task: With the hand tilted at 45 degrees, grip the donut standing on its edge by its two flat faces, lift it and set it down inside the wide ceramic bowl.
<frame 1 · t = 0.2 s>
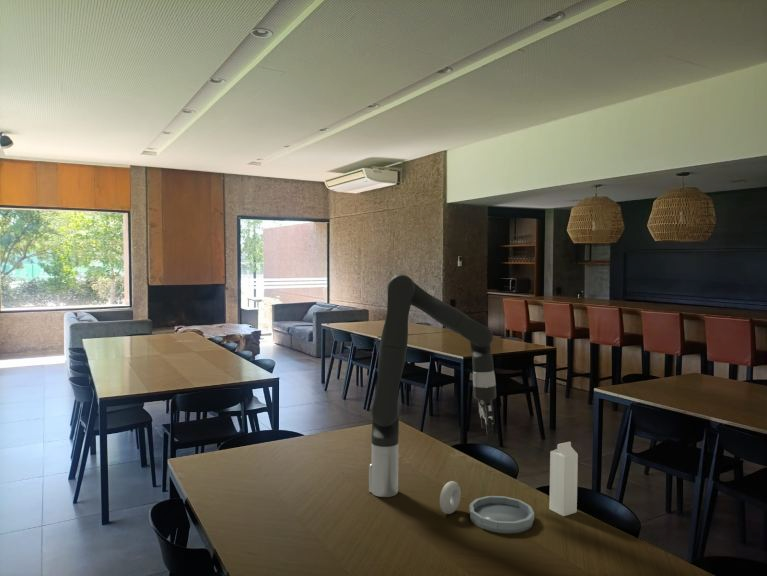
hand: (487, 432, 189), 22 cm above the table, tool pointing down, fingers open, 8 cm apart
milk: (562, 511, 178), on the table
bowl: (501, 518, 172), on the table
donut: (450, 513, 176), on the table
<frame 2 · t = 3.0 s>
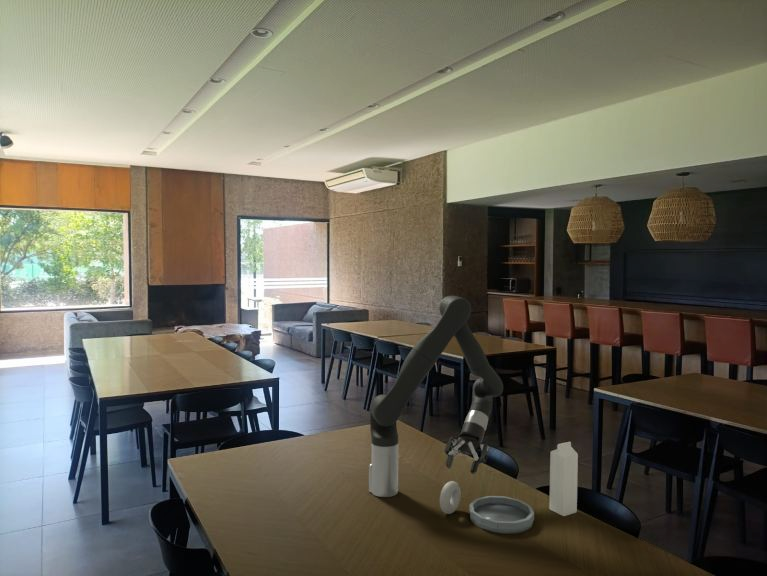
hand: (460, 470, 181), 12 cm above the table, tool tilted 45°, fingers open, 8 cm apart
nothing on the table moved.
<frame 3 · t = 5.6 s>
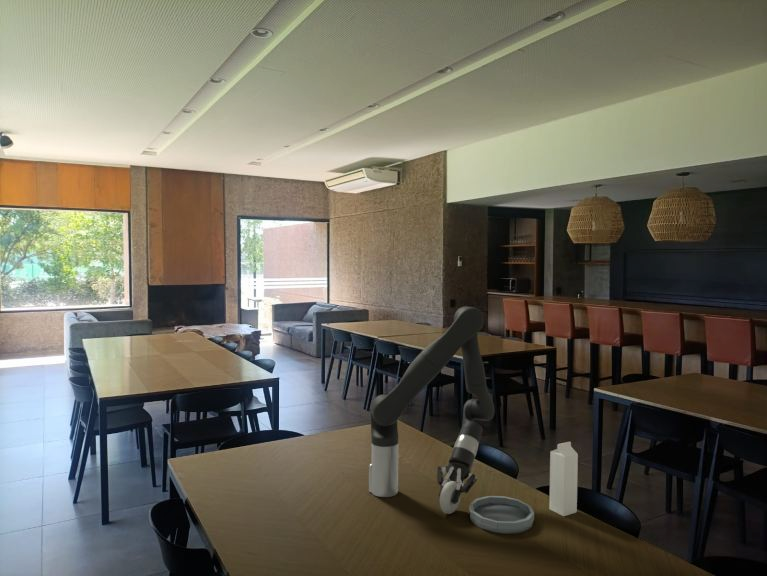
hand: (447, 500, 174), 5 cm above the table, tool tilted 45°, fingers closed on donut, 3 cm apart
donut: (450, 513, 176), on the table, touching gripper
everything else where it was.
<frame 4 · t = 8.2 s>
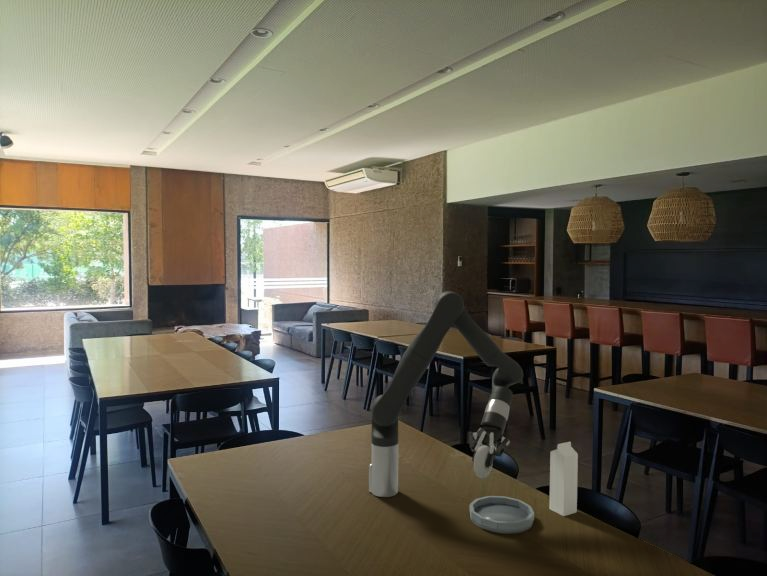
hand: (481, 465, 172), 17 cm above the table, tool tilted 45°, fingers closed on donut, 3 cm apart
donut: (483, 478, 173), point 12 cm above the table, touching gripper
everything else where it was.
when the fingers open (7 cm above the table, at t = 10.7 s): donut drops 1 cm, resting on bowl.
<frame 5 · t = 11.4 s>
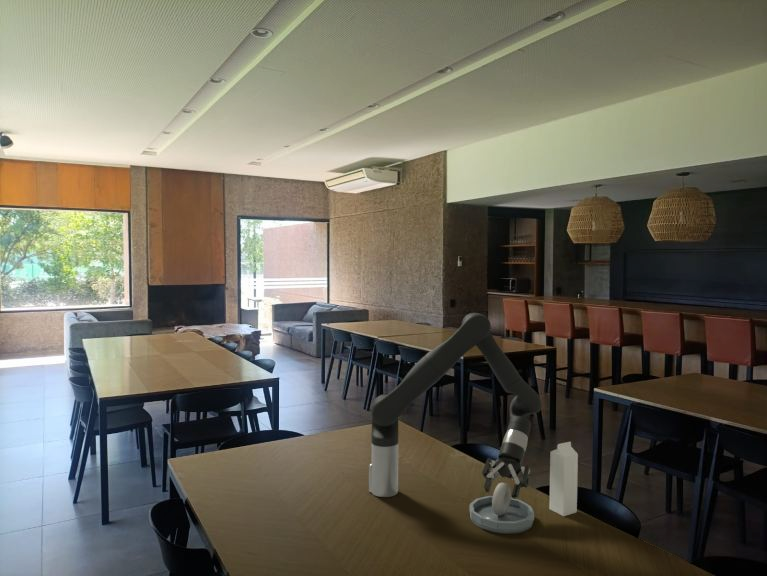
hand: (499, 494, 171), 8 cm above the table, tool tilted 45°, fingers open, 8 cm apart
donut: (501, 515, 172), point 1 cm above the table, touching bowl
everything else where it was.
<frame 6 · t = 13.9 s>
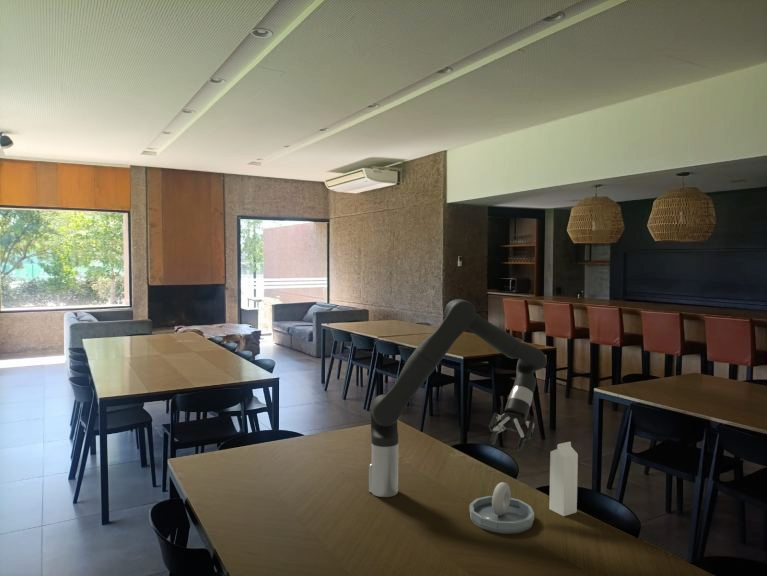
hand: (505, 446, 180), 20 cm above the table, tool tilted 40°, fingers open, 8 cm apart
nothing on the table moved.
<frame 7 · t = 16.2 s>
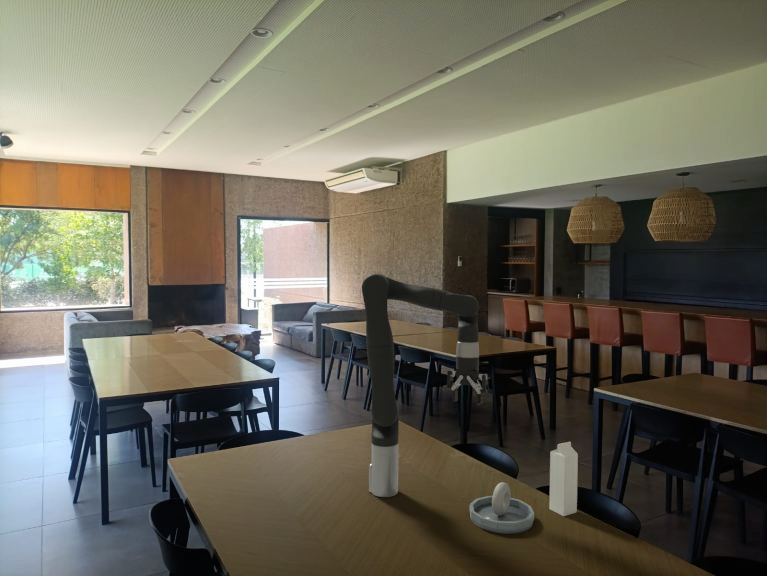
hand: (467, 402, 187), 32 cm above the table, tool pointing down, fingers open, 8 cm apart
nothing on the table moved.
at the end: donut inside the target area on the bowl (0.1 cm from its centre), point 1.0 cm above the bowl's base; the gripper is holding nothing; donut moved 15.8 cm from its start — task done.
